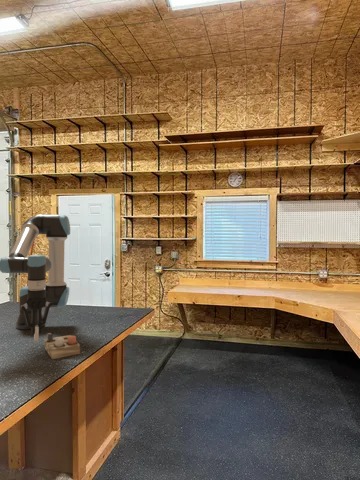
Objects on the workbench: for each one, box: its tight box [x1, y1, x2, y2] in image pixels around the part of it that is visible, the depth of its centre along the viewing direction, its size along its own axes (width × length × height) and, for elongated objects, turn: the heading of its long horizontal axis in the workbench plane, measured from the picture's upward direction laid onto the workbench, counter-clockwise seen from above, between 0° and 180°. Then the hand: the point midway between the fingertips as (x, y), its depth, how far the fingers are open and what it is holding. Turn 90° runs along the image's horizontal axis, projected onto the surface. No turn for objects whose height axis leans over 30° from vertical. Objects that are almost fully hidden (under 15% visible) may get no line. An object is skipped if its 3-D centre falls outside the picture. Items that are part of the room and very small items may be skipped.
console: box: [43, 334, 81, 360], centre depth 147 cm, size 16×12×4 cm
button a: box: [68, 335, 77, 345], centre depth 146 cm, size 4×4×3 cm
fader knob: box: [46, 332, 54, 341], centre depth 148 cm, size 3×2×3 cm
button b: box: [55, 338, 64, 347], centre depth 143 cm, size 4×4×3 cm
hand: (36, 340), depth 145 cm, fingers closed
